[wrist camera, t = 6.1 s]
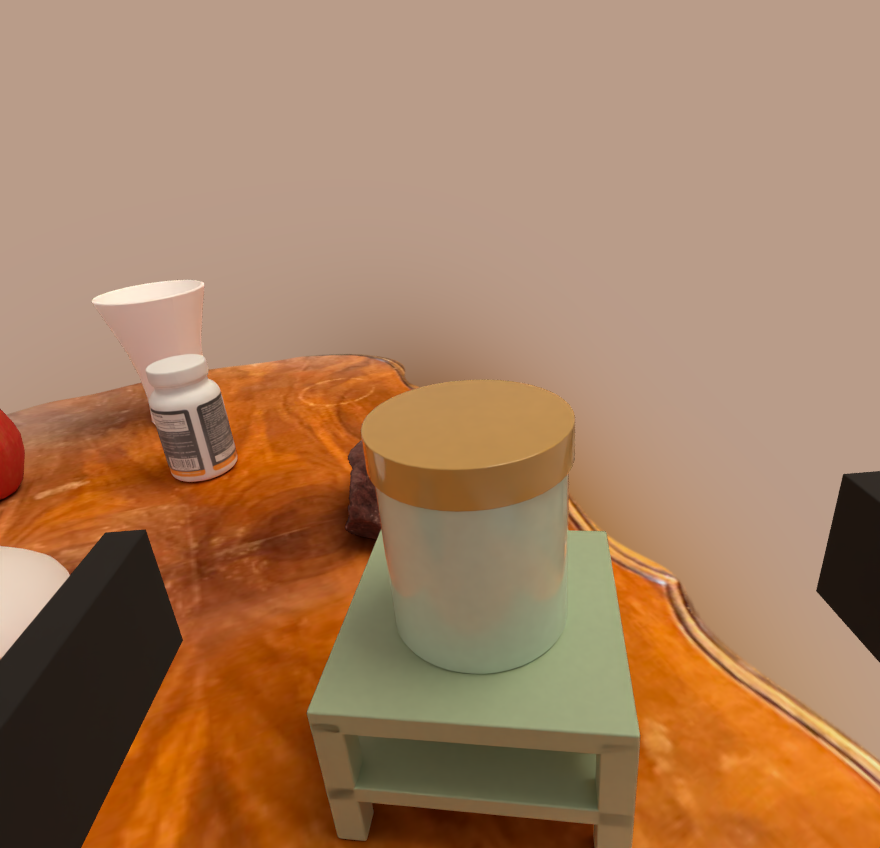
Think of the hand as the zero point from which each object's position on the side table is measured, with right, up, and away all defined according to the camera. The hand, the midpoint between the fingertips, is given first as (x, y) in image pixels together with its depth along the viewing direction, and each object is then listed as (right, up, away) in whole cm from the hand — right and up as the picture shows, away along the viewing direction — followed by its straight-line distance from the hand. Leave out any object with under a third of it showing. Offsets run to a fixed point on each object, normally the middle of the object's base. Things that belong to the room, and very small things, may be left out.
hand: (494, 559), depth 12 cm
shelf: (+1, -11, +16) cm, 19 cm away
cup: (-29, +3, +54) cm, 62 cm away
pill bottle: (-22, -1, +42) cm, 47 cm away
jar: (+1, -5, +13) cm, 14 cm away
